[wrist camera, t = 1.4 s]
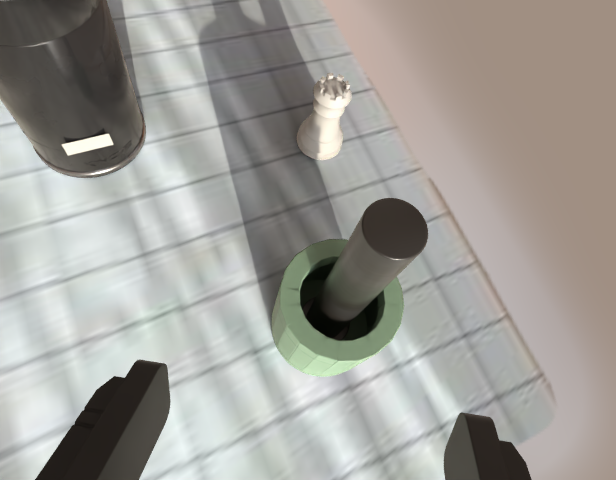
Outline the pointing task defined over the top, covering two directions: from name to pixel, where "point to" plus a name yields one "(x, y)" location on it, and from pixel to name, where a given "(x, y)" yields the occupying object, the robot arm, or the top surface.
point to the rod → (367, 264)
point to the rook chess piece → (325, 119)
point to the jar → (311, 343)
